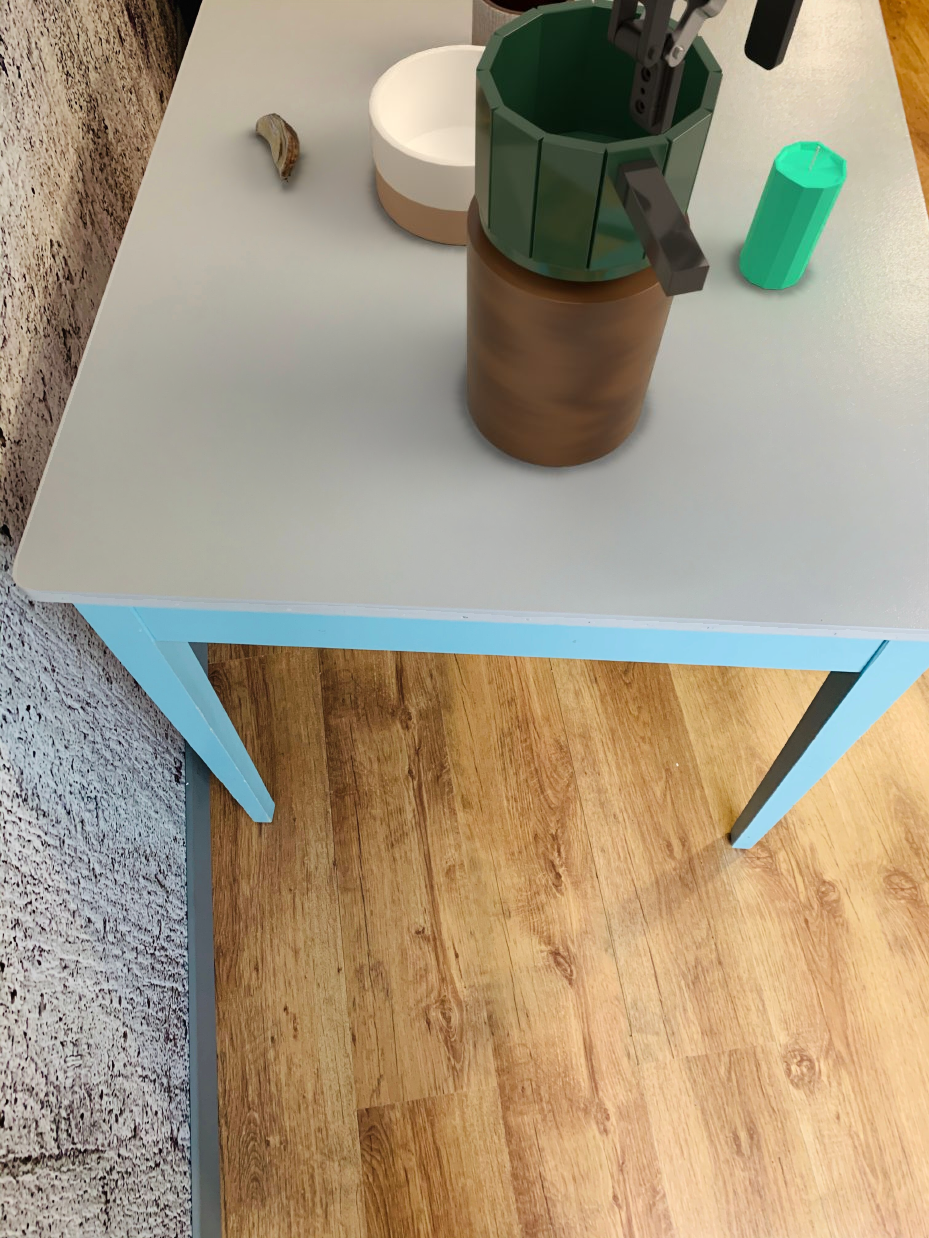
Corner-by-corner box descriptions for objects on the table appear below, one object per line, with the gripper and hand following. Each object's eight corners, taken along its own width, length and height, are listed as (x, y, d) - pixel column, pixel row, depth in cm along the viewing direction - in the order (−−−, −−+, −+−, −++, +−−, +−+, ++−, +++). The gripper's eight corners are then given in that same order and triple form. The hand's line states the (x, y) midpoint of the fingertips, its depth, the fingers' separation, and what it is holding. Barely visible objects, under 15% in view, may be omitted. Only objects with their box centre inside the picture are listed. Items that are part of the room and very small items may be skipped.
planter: (460, 106, 90) (459, 8, 81) (483, 44, 94) (485, -55, 85) (562, 122, 88) (572, 24, 80) (580, 59, 93) (592, -41, 84)
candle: (772, 300, 78) (822, 182, 67) (724, 263, 80) (765, 143, 69) (816, 270, 79) (872, 150, 68) (768, 234, 81) (815, 113, 70)
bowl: (532, 259, 80) (539, 179, 72) (356, 230, 82) (345, 150, 74) (564, 141, 87) (573, 57, 80) (401, 117, 89) (395, 33, 81)
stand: (609, 315, 77) (646, 131, 61) (666, 446, 71) (724, 279, 55) (448, 346, 75) (443, 167, 60) (492, 483, 69) (500, 323, 53)
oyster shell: (277, 187, 91) (308, 188, 83) (243, 173, 88) (271, 173, 81) (290, 126, 89) (323, 122, 81) (256, 111, 87) (287, 105, 79)
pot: (455, 157, 58) (454, 18, 50) (643, 125, 60) (671, -15, 52) (547, 404, 49) (562, 283, 41) (766, 359, 51) (823, 234, 43)
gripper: (762, -258, 27) (661, 188, 42) (1027, -372, 31) (849, 73, 46) (603, -332, 30) (559, 113, 45) (865, -429, 34) (746, 10, 48)
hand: (706, 93), depth 45 cm, fingers open, 8 cm apart
